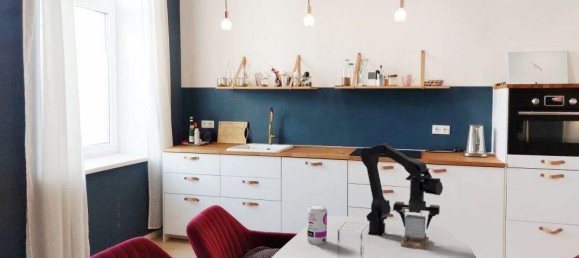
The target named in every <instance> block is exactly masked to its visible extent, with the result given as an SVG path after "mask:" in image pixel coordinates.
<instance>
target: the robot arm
mask: <svg viewBox="0 0 579 258" xmlns="http://www.w3.org/2000/svg"><path fill="white" fill-rule="evenodd" d="M359 155H360V159H361V162H362V163H363V165H364V166H365V167H366V171H367V176H368V181H369V186H370V192H371V198H372V201H371V204H370V209H371V211H370V212H369V213H368V214H367V215H366V220H367V221H368V222H369V224H368V226H369V227H368V233H367V234H368V235H372V236H373V235H375V236H383V235H384V234H385V233H386V223H385V220H387V219H388V216H389V215H390V214H391V209H392V211H396V213H398V215H399V216H400V218H401V221H402V223H403V224H402V225H403V227H404V228H405V217H406V210H408V212H409V213H416V214H419V213H421V212H422V211H423V212H428V215H427V219H426V220H427V221H426V225H425V230H428V228H429V227H430V223H431V221H432V219H433V217H436V216H438V215H440V213H441V206H440V205H439V204H430V205H429V206H427V202H426V201H425V200H424V199H425V198H424V197H425V194H430V195H435V196H441V195H442V193H443V190H444V186H443V183H442V181H441V178H438V177H437V178H436V177H433V176H432V175H431V173H430V171H429V170H428V167H427V164H426V162H424V161H421V160H419V159H416V158H411V157H410V156H407V155H406V154H404V153H403V152H402V151H399V150H398V149H396V148H394V147H392V146H391V145H390V144H389V143H380V144H379V145H376V146H370V147H364V148H362V149H360V152H359ZM381 155H384V156H386V157H387V158H389V159H390V160H393V161H394V162H395V163H397V164H399V165H401V166H402V167H403V168H404V171H406V172H407V173H408V174H409V175H408V176H407V177H406V178H405V181H409V182H410V183H409V200H408V204H405V202H404V201H395V202H394V203H393V206H392V208H391V204H390V203H391V202H390V200H386V198H385V197H384V193H383V188H382V183H381V182H382V181H381V179H380V178H381V177H380V172H379V168H378V165H379V160H380V157H379V156H381Z"/></svg>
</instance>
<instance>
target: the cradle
mask: <svg viewBox="0 0 579 258" xmlns="http://www.w3.org/2000/svg"><path fill="white" fill-rule="evenodd" d="M429 241H430V240H429V236H427V233H426V232H425V237H424V238H415V237H407V236H405V235H403V238H402V240H401V242H400V247H404V248H411V249H412V248H413V249H420V250H426V249H427V246H428V244H429Z"/></svg>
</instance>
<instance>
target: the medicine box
mask: <svg viewBox="0 0 579 258" xmlns="http://www.w3.org/2000/svg"><path fill="white" fill-rule="evenodd" d="M425 233H426V216H425V215H424V216H423V215H418V214H417V215H415V214H406V215H405V227H404V236H407V237H415V238H424V237H425Z"/></svg>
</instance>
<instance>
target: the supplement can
mask: <svg viewBox="0 0 579 258" xmlns="http://www.w3.org/2000/svg"><path fill="white" fill-rule="evenodd" d="M306 231H307V233H306V235H307V236H306V237H307V238H306V240H307V242H308V243H309V244H311V245H323V244H325V243H326V242H327V241H328V239H327V238H328V237H327V235H328V234H327V233H328V210H327V208H326V206H325V205H324V206H323V205H316V204H315V205H310V206H309V207H308V209H307V230H306Z"/></svg>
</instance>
